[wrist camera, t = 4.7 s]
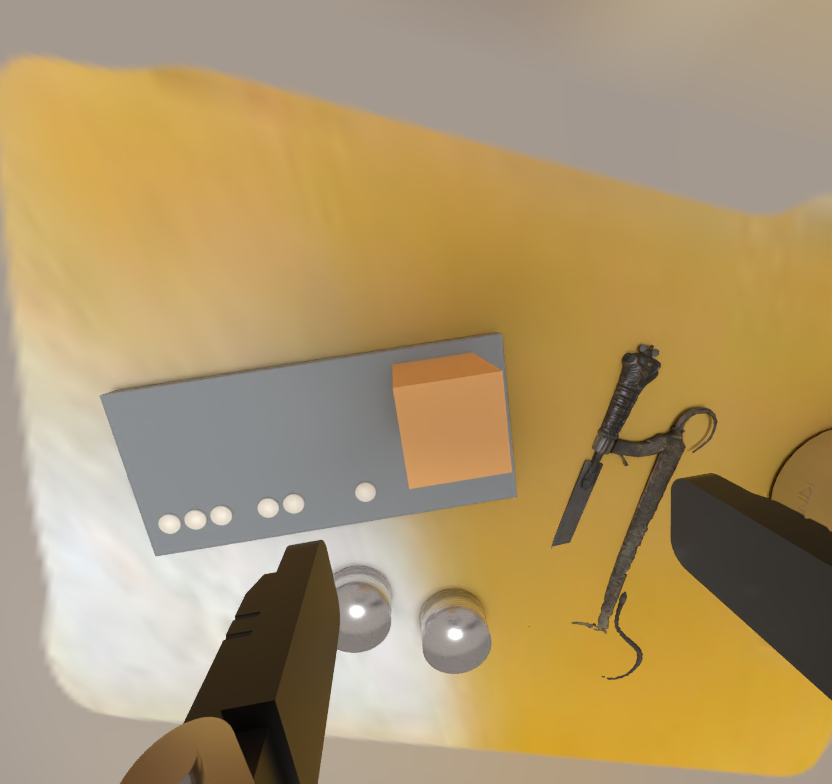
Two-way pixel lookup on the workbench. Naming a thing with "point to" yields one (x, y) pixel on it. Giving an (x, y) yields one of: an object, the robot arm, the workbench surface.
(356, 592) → the steel cylinder
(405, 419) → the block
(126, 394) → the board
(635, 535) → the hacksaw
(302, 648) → the robot arm
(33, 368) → the workbench surface
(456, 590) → the steel cylinder
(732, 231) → the workbench surface
